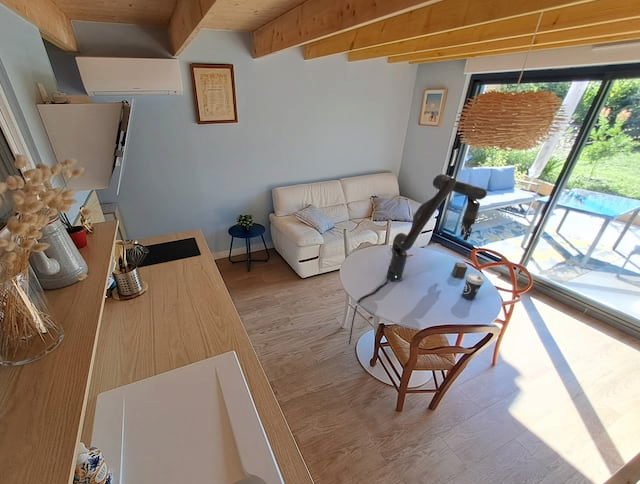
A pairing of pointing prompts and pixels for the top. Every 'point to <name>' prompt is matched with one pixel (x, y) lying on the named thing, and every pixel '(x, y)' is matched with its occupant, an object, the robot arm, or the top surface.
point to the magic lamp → (407, 255)
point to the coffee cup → (472, 286)
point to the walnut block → (459, 270)
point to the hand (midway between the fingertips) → (463, 237)
